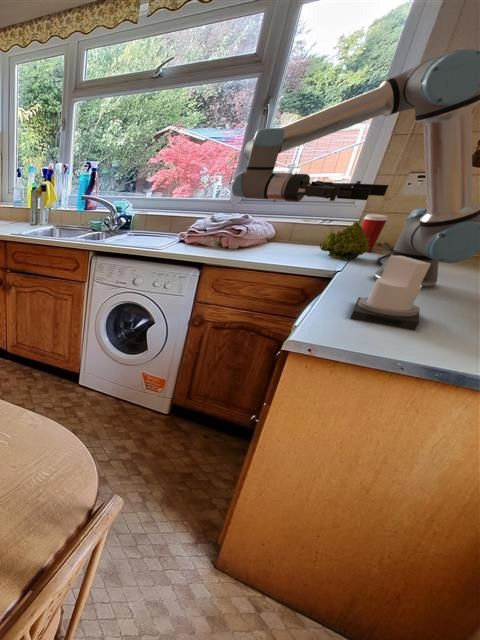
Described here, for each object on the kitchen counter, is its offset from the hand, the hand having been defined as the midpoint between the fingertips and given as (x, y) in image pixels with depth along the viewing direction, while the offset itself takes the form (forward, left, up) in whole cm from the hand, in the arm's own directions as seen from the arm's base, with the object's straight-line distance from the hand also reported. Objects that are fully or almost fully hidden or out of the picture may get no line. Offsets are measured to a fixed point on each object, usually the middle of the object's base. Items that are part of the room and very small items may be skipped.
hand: (378, 192), depth 115 cm
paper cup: (-87, +1, -30) cm, 92 cm away
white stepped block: (+7, +12, -27) cm, 30 cm away
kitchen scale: (+7, +12, -30) cm, 33 cm away
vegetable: (-67, -4, -30) cm, 73 cm away
